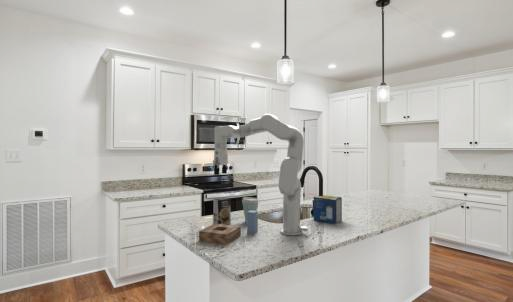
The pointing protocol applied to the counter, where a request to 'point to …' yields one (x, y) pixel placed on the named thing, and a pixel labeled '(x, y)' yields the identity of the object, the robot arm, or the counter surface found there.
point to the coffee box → (222, 211)
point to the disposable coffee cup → (249, 205)
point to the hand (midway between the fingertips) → (220, 174)
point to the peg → (252, 222)
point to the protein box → (328, 209)
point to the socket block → (220, 233)
